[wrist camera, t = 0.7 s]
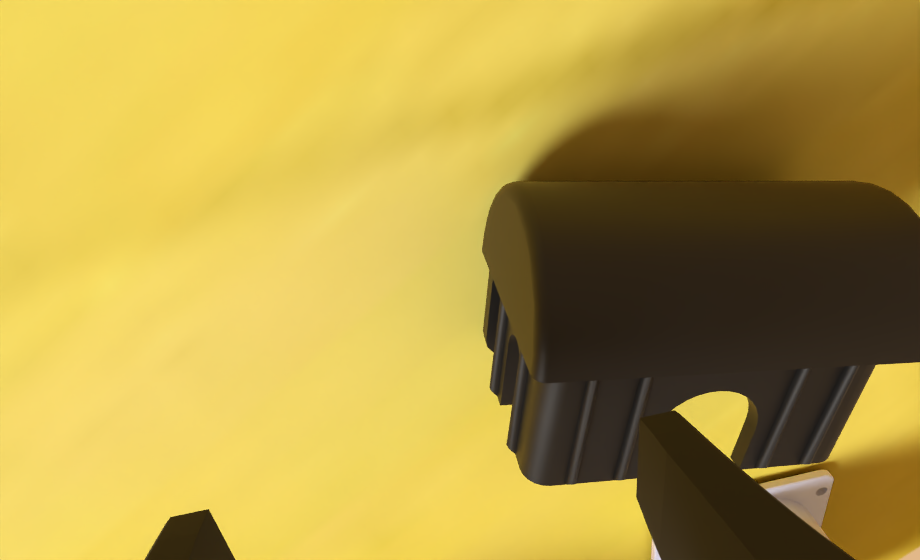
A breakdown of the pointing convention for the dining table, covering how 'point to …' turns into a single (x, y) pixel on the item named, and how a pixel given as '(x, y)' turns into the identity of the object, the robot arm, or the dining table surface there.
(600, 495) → the dining table surface
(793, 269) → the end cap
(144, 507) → the dining table surface
